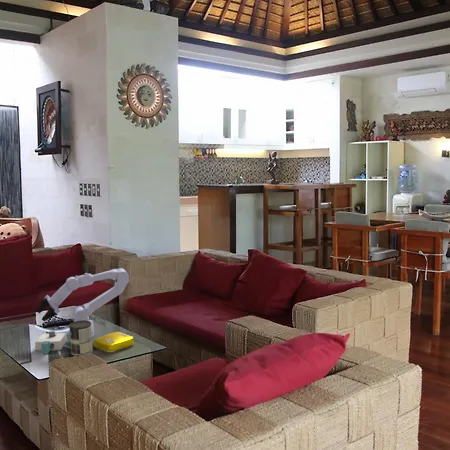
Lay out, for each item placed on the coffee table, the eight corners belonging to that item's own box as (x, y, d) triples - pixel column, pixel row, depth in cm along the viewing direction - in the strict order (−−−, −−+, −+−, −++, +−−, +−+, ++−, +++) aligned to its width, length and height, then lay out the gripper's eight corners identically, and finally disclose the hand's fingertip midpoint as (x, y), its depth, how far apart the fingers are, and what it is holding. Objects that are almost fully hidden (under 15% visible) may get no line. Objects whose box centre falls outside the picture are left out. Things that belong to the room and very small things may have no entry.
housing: (43, 342, 284) (42, 333, 284) (67, 341, 285) (66, 332, 284) (35, 350, 273) (35, 342, 272) (60, 350, 273) (59, 341, 272)
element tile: (135, 345, 276) (134, 336, 276) (109, 354, 266) (109, 344, 265) (118, 338, 287) (117, 330, 286) (92, 347, 276) (92, 337, 275)
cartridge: (50, 343, 282) (50, 334, 281) (56, 343, 282) (55, 333, 281) (42, 353, 268) (41, 344, 267) (47, 353, 268) (47, 343, 267)
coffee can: (69, 356, 264) (66, 327, 262) (73, 348, 274) (71, 321, 272) (91, 355, 265) (89, 326, 262) (94, 347, 275) (92, 319, 273)
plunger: (56, 334, 281) (55, 330, 281) (54, 336, 278) (54, 332, 278) (50, 335, 281) (49, 330, 281) (48, 337, 278) (48, 332, 278)
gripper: (49, 285, 286) (30, 305, 284) (59, 300, 276) (40, 320, 274) (58, 292, 291) (39, 311, 289) (69, 306, 281) (49, 326, 279)
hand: (40, 316), depth 282 cm, fingers open, 7 cm apart
